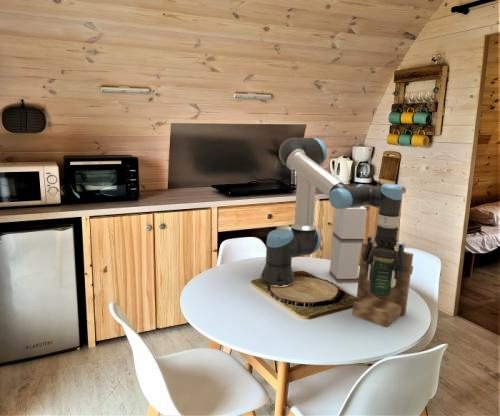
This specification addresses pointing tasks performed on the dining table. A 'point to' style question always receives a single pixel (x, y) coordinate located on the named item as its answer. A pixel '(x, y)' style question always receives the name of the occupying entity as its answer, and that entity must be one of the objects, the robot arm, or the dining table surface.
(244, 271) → the dining table surface
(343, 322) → the dining table surface
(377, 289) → the coffee jar
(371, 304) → the wooden stand
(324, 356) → the dining table surface
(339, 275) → the grey seamed pillar
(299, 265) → the dining table surface
